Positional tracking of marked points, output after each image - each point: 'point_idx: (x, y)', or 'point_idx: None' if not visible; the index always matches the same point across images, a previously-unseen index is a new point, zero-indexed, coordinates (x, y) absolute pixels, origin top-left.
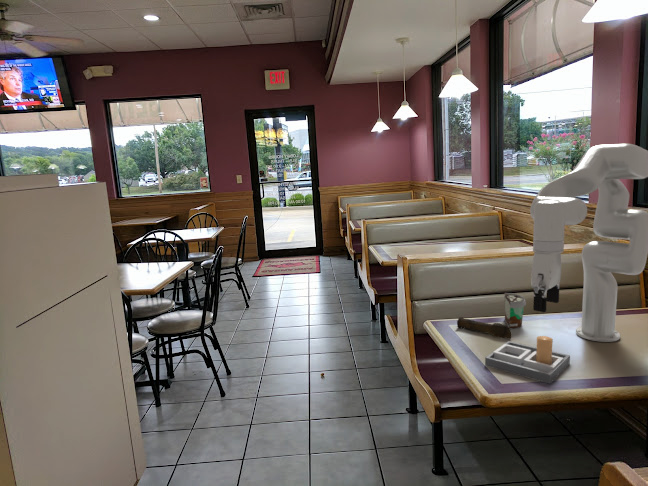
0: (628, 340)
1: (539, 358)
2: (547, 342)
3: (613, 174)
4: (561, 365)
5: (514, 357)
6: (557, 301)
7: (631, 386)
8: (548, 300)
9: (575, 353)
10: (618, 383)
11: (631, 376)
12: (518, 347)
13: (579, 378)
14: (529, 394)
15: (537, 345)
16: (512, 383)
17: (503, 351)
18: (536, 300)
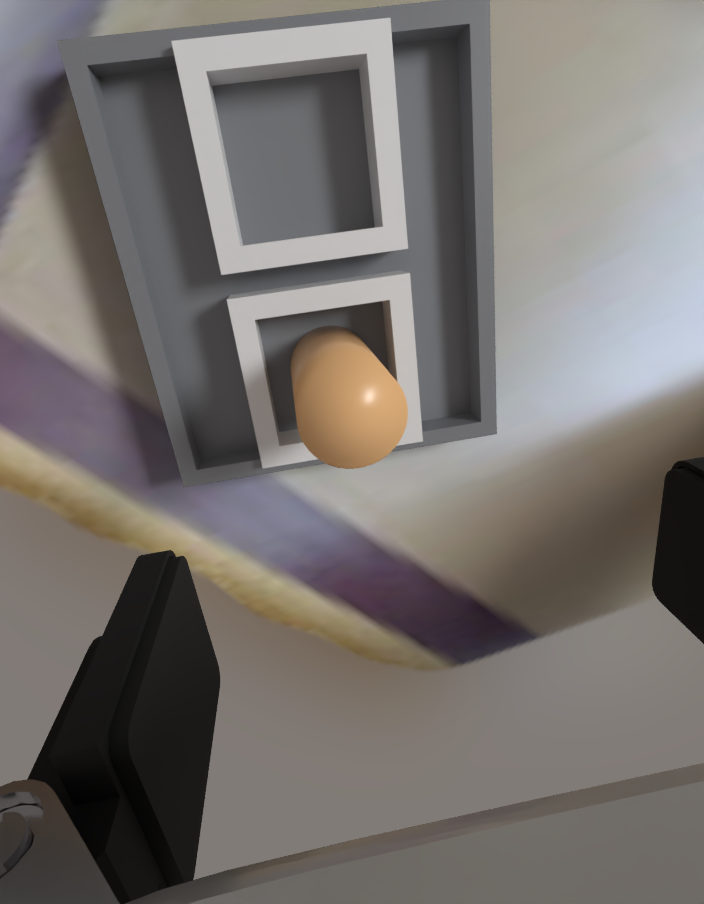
0: None
1: (292, 374)
2: (314, 454)
3: None
4: None
5: (212, 232)
6: (666, 604)
7: (419, 653)
8: (675, 495)
9: (625, 376)
10: (413, 620)
11: (509, 621)
12: (394, 153)
13: (349, 518)
14: (6, 462)
15: (303, 373)
16: (28, 342)
17: (311, 69)
18: (43, 763)
